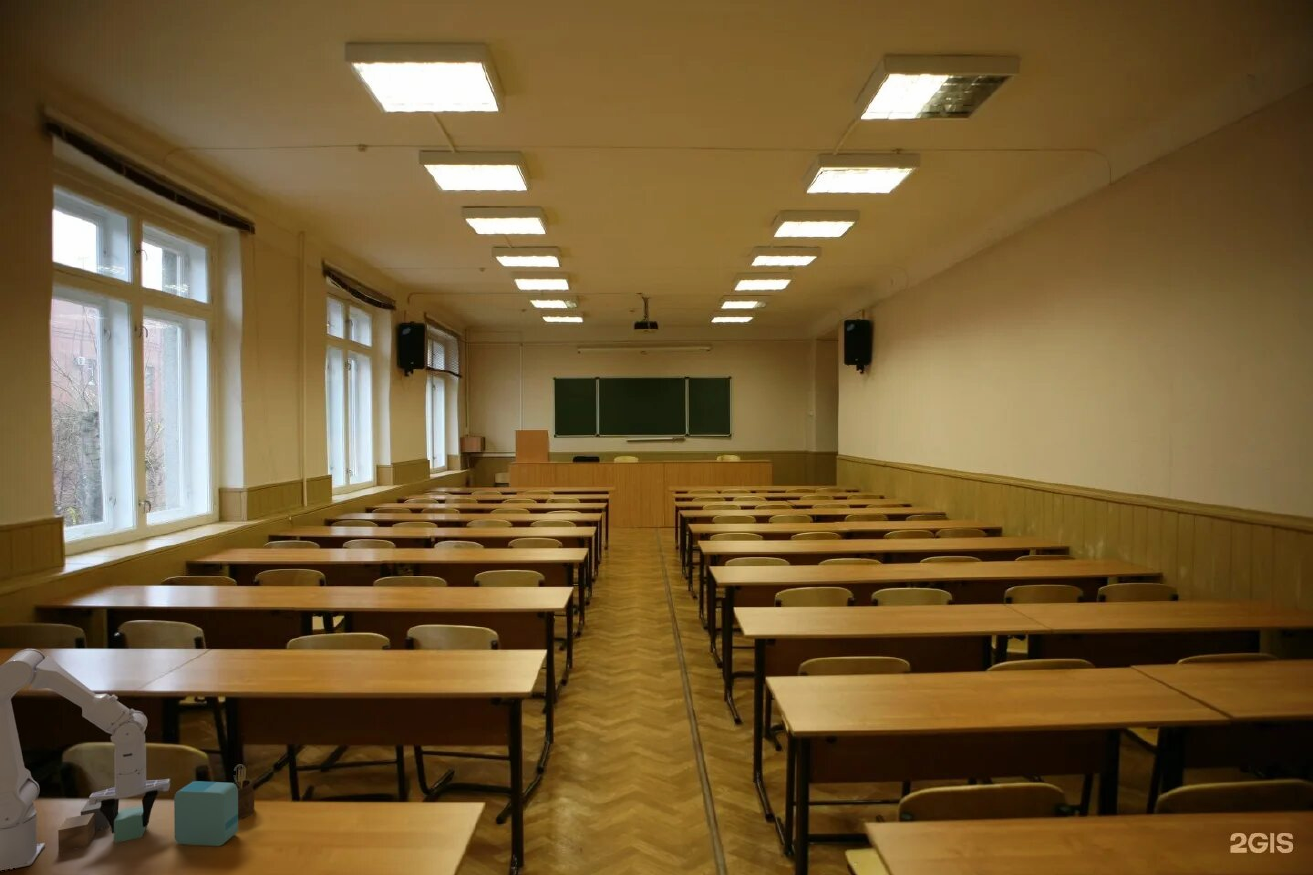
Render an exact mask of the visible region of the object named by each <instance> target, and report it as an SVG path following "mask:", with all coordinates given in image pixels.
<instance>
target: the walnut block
mask: <svg viewBox="0 0 1313 875" xmlns="http://www.w3.org/2000/svg"><path fill="white" fill-rule="evenodd" d="M57 831H58V833H57V835H58V840H57V841H58V843H57V844H58V847H57V848H58V853H64V852H68V851H72V850H77V849H76V848H78V849H81V848H86V847H89V844H90V843H91V841H92V839H93V837H94V836H95V830H94V813H92V814H86V815H81V814H80V815H77V816H72V817H71V816H70V817H66V818H65V819H64V821H63V823H62V824H61V825H60V827H59V829H58V830H57Z"/></svg>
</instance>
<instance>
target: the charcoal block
mask: <svg viewBox="0 0 1313 875" xmlns="http://www.w3.org/2000/svg"><path fill="white" fill-rule="evenodd" d="M100 807H101V802H99V803H96V804H95V805H90V806H89V800H87V801H86V803H85V804H84V806H83V807H82V809H81V810H80V816H81V815H86V814H92V813H94V831H98V830H102V829H101V828H103V829H107V828H109V826H110V824H109V822H108V820H107V818H106V817H105V816H104V814H103V813H102V812H101V811H100ZM97 829H98V830H97Z"/></svg>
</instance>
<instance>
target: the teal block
mask: <svg viewBox="0 0 1313 875" xmlns="http://www.w3.org/2000/svg"><path fill="white" fill-rule="evenodd" d="M147 827H148V825H147V826H146V827H143V804H142V805H138V806H132V807H127V808H121V809H119V810H118V815H117V816H116V818H115V820H114V833H113V842H114V844H115V843H121V842H125V841H130V840H135V839H139V838H142V837H143V835H144V834H145V831H146V830H147Z"/></svg>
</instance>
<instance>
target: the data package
mask: <svg viewBox="0 0 1313 875" xmlns="http://www.w3.org/2000/svg"><path fill="white" fill-rule="evenodd" d="M173 802H174V809H173V810H174V813H173V814H174V815H173V816H174V840H175V842H176V843H178V844H180V845H190V846H191V845H192V846H193V845H195V846H206V847H207V846H211V847H214V846H215V847H221V846H223V845H224V844H226V842H228V841H229V840H230V839H231V838H233V837H234V836H235V835H236V834H237V833H238V830H239V819H238V788H237V786H236V785H235V784H234V782H222V781H221V782H220V781H203V780H202V781H201V780H199V781H198V780H197V781H196V780H195V781H194V780H193V781H191V782H190V783H188V784H187V785H185V786H183V787H182V788H180V789H179V790H178V791H176V793H175V794H174V798H173Z"/></svg>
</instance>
